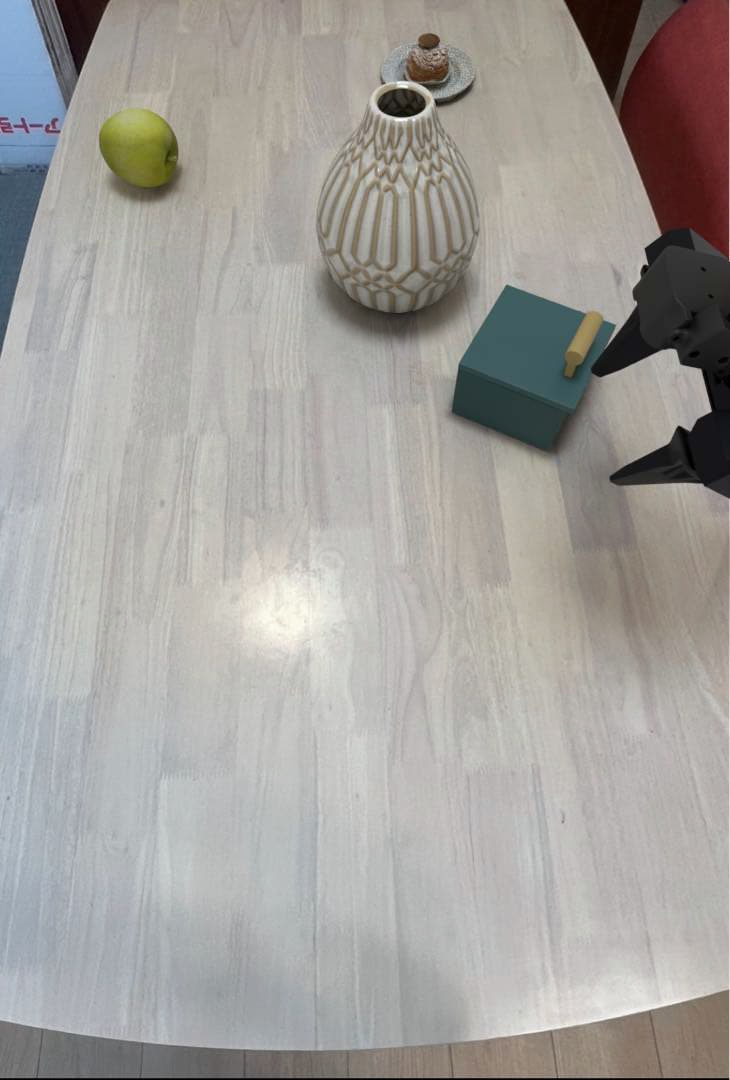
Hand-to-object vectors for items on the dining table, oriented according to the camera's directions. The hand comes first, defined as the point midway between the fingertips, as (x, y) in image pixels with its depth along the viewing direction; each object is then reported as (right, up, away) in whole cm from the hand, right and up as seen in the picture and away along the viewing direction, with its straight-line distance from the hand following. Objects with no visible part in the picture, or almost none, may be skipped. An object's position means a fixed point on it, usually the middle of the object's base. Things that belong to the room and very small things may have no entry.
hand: (603, 425), depth 53 cm
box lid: (-1, +9, +15) cm, 17 cm away
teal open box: (-2, +6, +21) cm, 22 cm away
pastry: (-9, +51, +43) cm, 67 cm away
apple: (-42, +34, +35) cm, 64 cm away
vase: (-14, +19, +27) cm, 36 cm away
